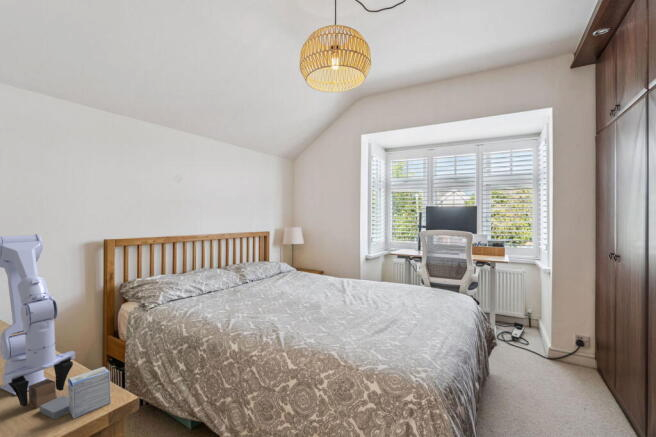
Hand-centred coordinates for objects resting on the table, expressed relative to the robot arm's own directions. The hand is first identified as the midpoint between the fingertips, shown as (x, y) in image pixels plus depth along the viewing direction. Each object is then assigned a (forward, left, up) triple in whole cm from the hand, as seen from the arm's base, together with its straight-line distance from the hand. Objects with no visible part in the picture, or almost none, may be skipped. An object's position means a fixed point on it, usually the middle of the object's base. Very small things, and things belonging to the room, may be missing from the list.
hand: (42, 397), depth 83 cm
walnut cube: (0, 0, -2) cm, 2 cm away
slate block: (+8, 0, -2) cm, 8 cm away
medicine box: (+15, +4, -2) cm, 15 cm away
